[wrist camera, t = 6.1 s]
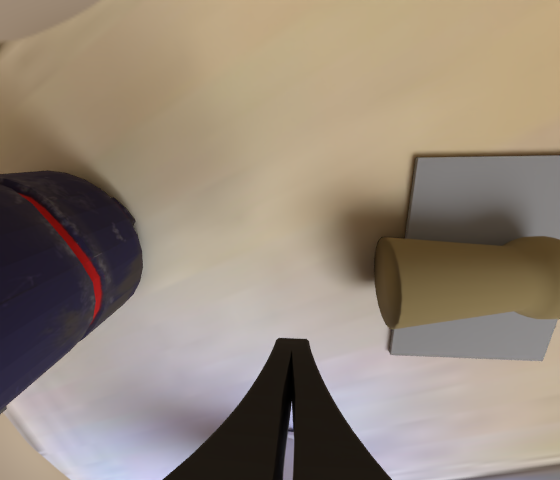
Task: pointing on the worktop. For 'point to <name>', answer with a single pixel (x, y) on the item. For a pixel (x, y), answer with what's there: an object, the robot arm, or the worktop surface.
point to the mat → (482, 230)
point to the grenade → (58, 270)
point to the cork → (466, 280)
